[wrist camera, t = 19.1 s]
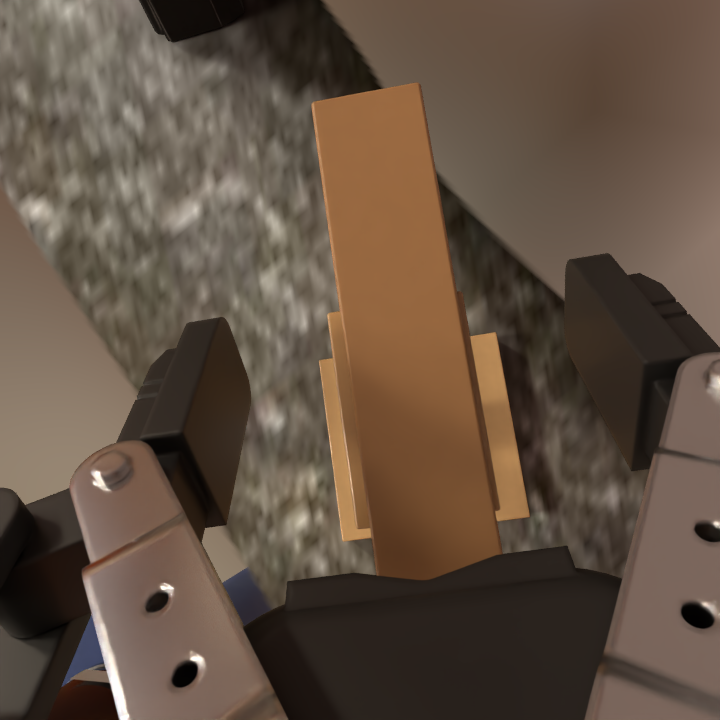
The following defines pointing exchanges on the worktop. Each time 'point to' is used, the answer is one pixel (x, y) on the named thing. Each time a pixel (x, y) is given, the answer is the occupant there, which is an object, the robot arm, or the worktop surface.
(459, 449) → the brown blocky piece
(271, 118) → the worktop surface
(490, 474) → the headphone stand
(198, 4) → the portable radio
